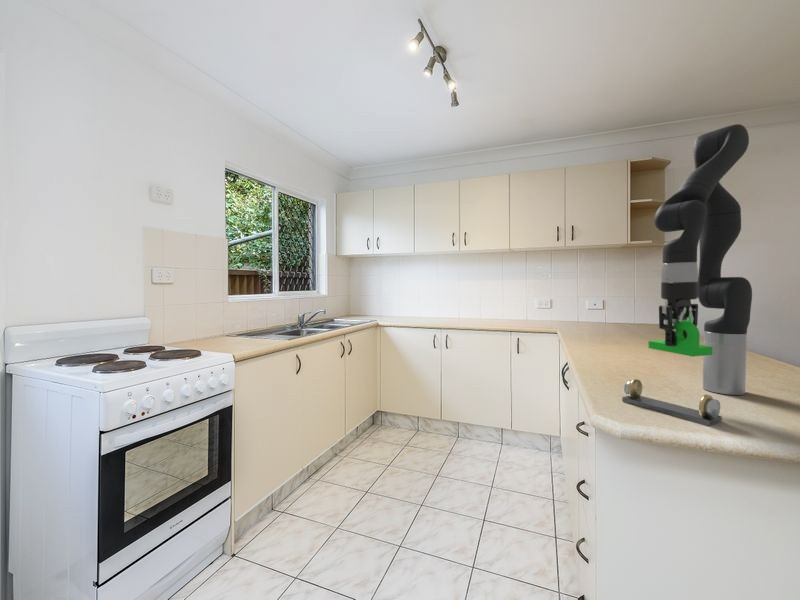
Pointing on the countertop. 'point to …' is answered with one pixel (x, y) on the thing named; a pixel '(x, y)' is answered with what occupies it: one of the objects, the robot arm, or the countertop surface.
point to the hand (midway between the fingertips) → (678, 344)
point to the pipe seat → (704, 415)
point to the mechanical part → (684, 342)
